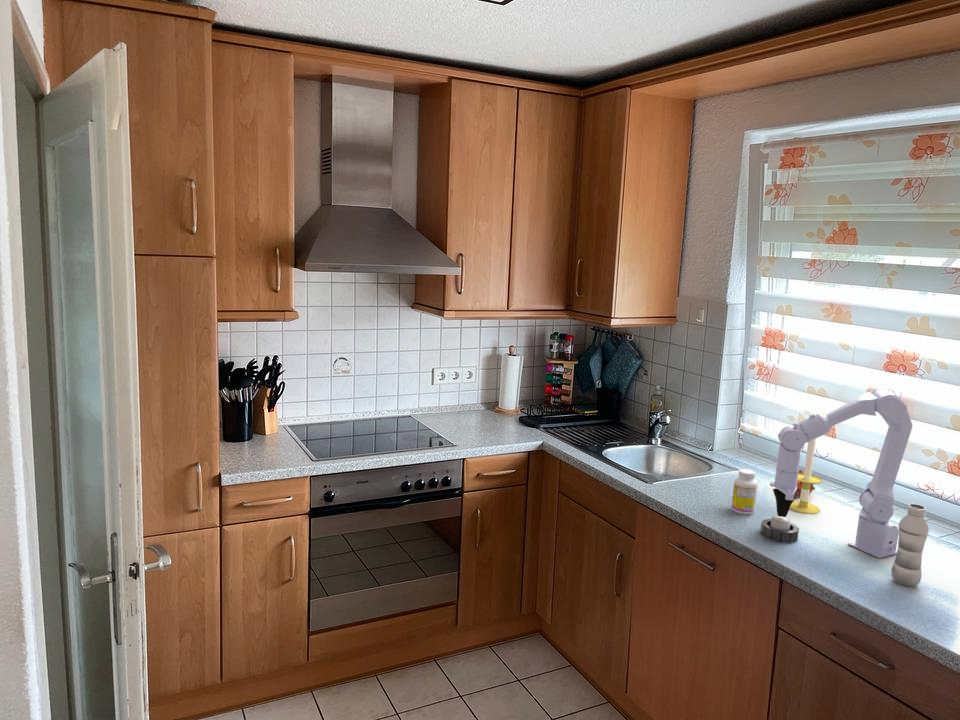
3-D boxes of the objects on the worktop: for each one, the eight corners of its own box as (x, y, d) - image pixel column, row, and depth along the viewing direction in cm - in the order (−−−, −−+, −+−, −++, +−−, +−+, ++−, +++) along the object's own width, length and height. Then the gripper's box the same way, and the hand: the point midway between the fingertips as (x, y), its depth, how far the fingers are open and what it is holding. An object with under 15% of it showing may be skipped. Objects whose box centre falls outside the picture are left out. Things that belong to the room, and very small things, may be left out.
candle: (782, 508, 224) (792, 424, 220) (790, 499, 232) (801, 419, 227) (816, 516, 218) (828, 431, 214) (823, 507, 226) (835, 425, 222)
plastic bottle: (892, 586, 175) (904, 509, 172) (887, 574, 182) (899, 499, 178) (922, 592, 173) (935, 514, 170) (916, 580, 179) (929, 504, 176)
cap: (792, 537, 202) (794, 520, 201) (780, 540, 200) (782, 523, 199) (777, 531, 206) (779, 513, 205) (765, 533, 204) (767, 516, 203)
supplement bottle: (735, 505, 225) (740, 466, 222) (757, 511, 221) (762, 471, 218) (727, 511, 220) (732, 471, 217) (749, 517, 216) (754, 476, 213)
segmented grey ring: (804, 539, 201) (806, 529, 200) (780, 545, 196) (782, 534, 196) (777, 526, 209) (778, 517, 209) (753, 531, 205) (754, 521, 204)
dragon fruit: (807, 494, 242) (794, 508, 234) (787, 475, 245) (773, 488, 237) (824, 480, 237) (811, 493, 228) (804, 461, 240) (790, 473, 232)
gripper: (767, 460, 207) (762, 504, 210) (776, 476, 193) (770, 523, 196) (793, 463, 206) (788, 507, 208) (804, 479, 192) (798, 527, 194)
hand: (781, 515), depth 202 cm, fingers closed
